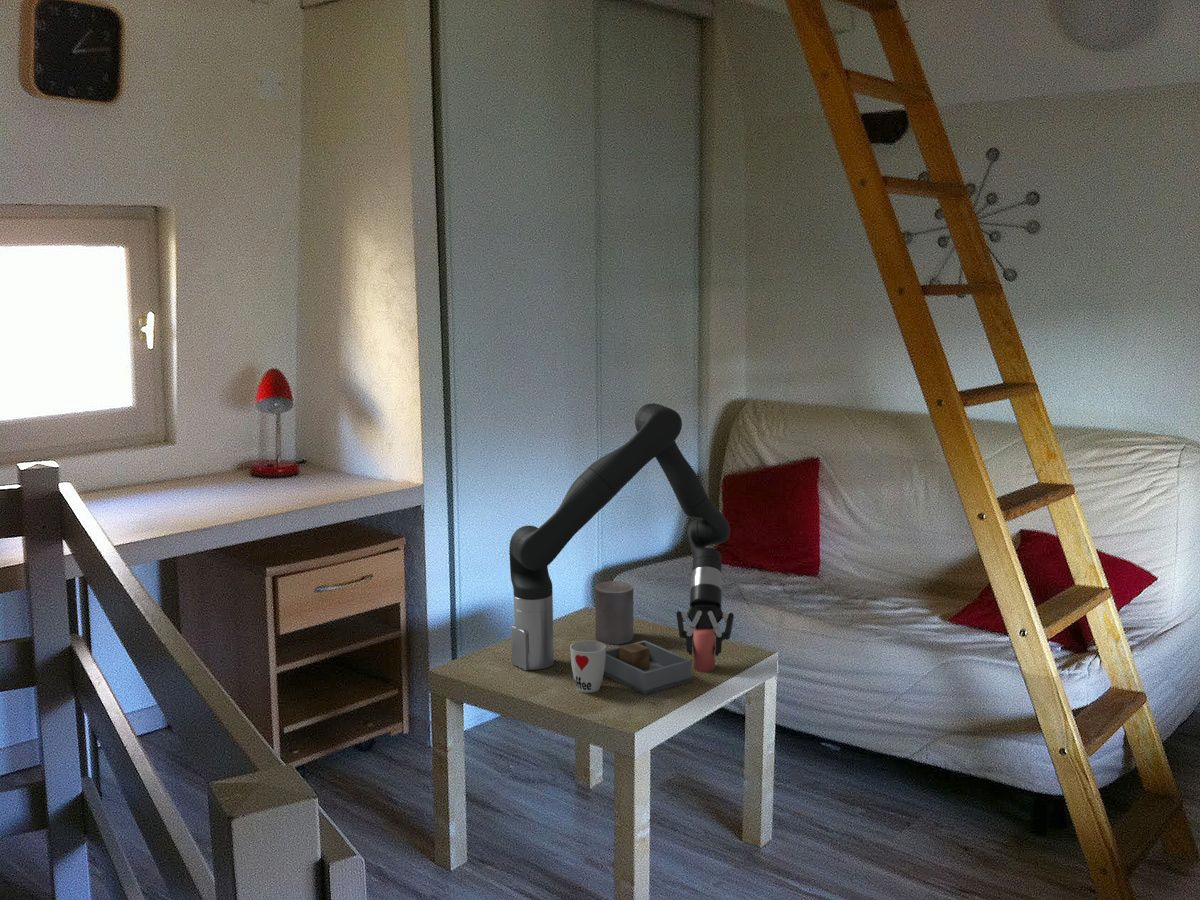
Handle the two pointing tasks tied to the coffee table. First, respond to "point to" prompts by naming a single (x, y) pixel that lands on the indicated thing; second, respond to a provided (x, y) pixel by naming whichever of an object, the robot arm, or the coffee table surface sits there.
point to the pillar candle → (614, 612)
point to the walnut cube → (635, 655)
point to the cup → (588, 664)
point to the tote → (649, 670)
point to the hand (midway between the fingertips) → (703, 653)
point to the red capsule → (704, 649)
